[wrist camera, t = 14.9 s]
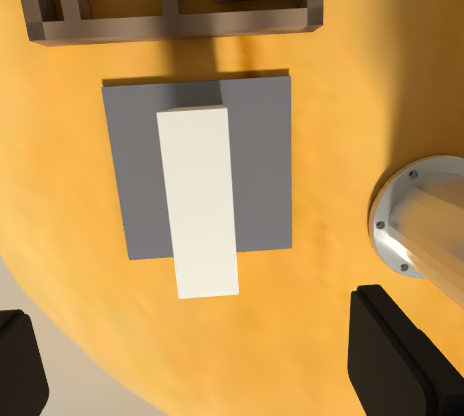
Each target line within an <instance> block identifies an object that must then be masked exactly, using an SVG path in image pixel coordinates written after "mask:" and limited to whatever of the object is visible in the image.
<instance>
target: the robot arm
mask: <svg viewBox="0 0 464 416" xmlns="http://www.w3.org/2000/svg"><path fill="white" fill-rule="evenodd" d="M410 172H411V173H410ZM409 173H410V174H409ZM377 223H378V224H377ZM368 227H369V237H370V240H371V243H372V247H373V248H374V250H375V252H376V254H377V255H378V256H379V258H380V259H381V260H382V261H383V262H384V263H385V264H386V265H387V266H389V267H390V268H391V269H392V270H394V271H395V272H397V273H399V274H401V275H404V276H408V277H411V278H419V279H428V280H429V281H430V282H432V283H433V284H434V285H435V286H436V287H437V288H439V289H440V290H441V291H442V292H443V293H445V294H446V295H447V296H448V297H449V298H450V299H452V300H453V301H454V302H455V303H456V304H458V305H459V306H460V307H461V308H462V309H463V310H464V158H461V157H458V156H451V155H433V156H429V157H425V158H421V159H418V160H416V161H414V162H412V163H409V164H407V165H406V166H404V167H403V168H401V169H400V170H398V171H397V172H396V173H395V174H394V175H393V176H392V177H391V178H389V179H388V180H387V181H386V183H385V184H384V185H383V187H382V188H381V189H380V191H379V192H378V194H377V196H376V198H375V200H374V202H373V205H372V208H371V211H370V216H369V225H368ZM347 367H348V375H349V378H350V381H351V383H352V385H353V387H354V389H355V392H356V394H357V396H358V398H359V400H360V402H361V404H362V407H363V409H364V411H365V413H366V415H367V416H464V378H463V377H462V376H461V375H460V373H459V372H458V371H457V370H456V369H455V368H454V367H453V365H452V364H451V363H450V362H449V361H448V360H447V359H446V357H445V356H444V355H443V354H442V353H441V352H440V351H439V349H438V348H437V347H436V346H435V345H434V344H433V343H432V341H431V340H430V339H429V338H428V337H427V336H426V335H425V333H423V332H422V331H421V330H420V329H417V327H416V326H415V325H414V324H413V323H412V322H411V320H410V319H409V318H408V317H407V316H406V315H405V313H404V312H403V311H402V310H401V309H400V308H399V307H398V305H397V304H396V303H395V302H394V301H393V300H392V298H391V297H390V296H389V295H388V294H387V293H386V292H385V290H384V289H383V288H382V287H381V286H380V285H378V284H376V285H362V286H358V287H357V291H352V293H351V303H350V324H349V344H348V365H347ZM48 397H49V387H48V383H47V379H46V375H45V372H44V368H43V364H42V361H41V356H40V353H39V349H38V345H37V342H36V338H35V334H34V330H33V326H32V323H31V319H30V317H29V316H28V314H24V312H23V311H22V310H20V309H18V310H3V311H0V416H39V415H40V414H41V412H42V410H43V408H44V407H45V405H46V403H47V400H48Z"/></svg>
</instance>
